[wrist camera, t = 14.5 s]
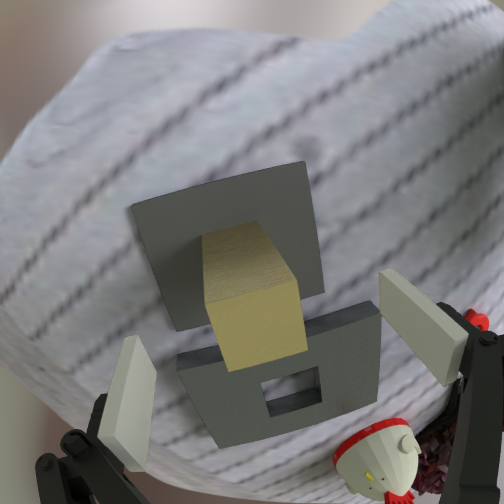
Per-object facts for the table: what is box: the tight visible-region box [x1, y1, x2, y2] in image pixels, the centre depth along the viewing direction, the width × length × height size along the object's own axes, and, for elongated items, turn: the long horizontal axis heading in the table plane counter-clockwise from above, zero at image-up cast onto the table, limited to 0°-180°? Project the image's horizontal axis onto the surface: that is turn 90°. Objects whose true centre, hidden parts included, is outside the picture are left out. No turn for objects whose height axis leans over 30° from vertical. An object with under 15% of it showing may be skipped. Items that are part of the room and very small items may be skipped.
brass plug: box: [202, 220, 308, 372], centre depth 21 cm, size 4×4×11 cm
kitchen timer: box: [333, 418, 422, 504], centre depth 35 cm, size 14×14×15 cm
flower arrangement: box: [411, 378, 504, 496], centre depth 38 cm, size 31×20×15 cm, turn 152°
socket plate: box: [177, 300, 381, 449], centre depth 31 cm, size 20×14×2 cm
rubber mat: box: [131, 161, 325, 332], centre depth 26 cm, size 14×12×1 cm
